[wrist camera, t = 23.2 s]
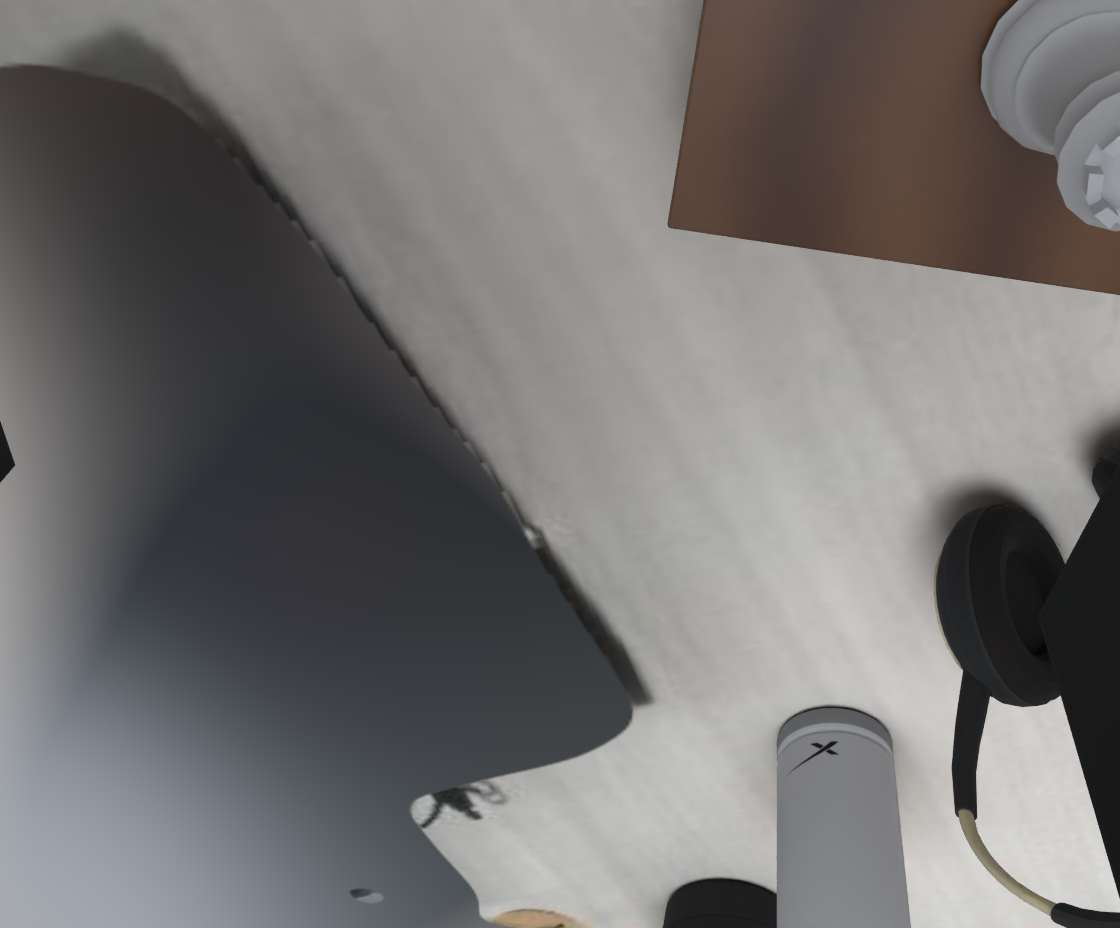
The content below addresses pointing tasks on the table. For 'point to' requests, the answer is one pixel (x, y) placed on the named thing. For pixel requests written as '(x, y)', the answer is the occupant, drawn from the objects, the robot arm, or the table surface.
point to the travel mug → (838, 824)
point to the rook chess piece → (1063, 95)
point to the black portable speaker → (721, 906)
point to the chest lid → (872, 143)
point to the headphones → (1002, 649)
